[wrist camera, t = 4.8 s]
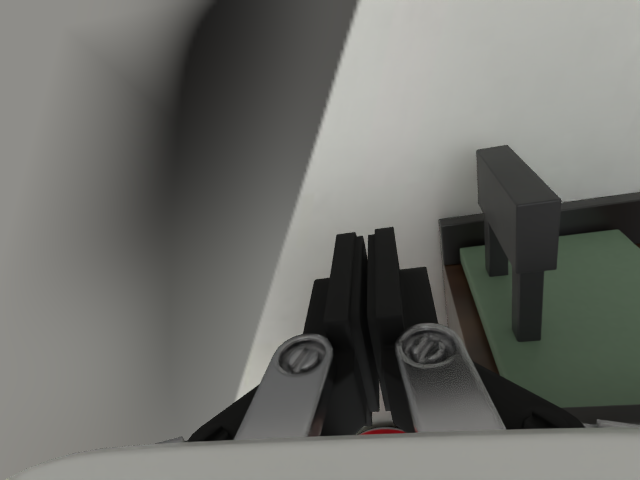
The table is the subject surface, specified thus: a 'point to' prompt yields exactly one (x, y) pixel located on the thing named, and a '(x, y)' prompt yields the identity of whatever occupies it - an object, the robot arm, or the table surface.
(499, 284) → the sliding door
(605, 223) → the cabinet
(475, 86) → the table surface
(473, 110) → the table surface
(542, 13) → the table surface
